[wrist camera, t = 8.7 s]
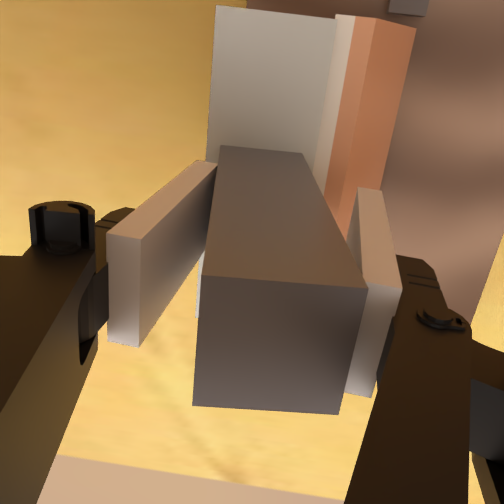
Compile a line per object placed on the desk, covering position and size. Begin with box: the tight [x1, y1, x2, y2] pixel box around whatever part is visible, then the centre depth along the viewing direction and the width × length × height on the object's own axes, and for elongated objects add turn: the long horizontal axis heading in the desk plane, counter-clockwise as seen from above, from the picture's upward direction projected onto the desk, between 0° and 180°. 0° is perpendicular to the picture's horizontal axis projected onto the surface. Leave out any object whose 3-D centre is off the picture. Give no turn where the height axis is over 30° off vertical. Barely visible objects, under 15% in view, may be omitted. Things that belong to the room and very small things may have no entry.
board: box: [246, 0, 504, 325], centre depth 25 cm, size 18×15×3 cm
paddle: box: [192, 5, 369, 415], centre depth 15 cm, size 12×4×13 cm, turn 174°
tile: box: [312, 14, 417, 241], centre depth 21 cm, size 12×7×1 cm
